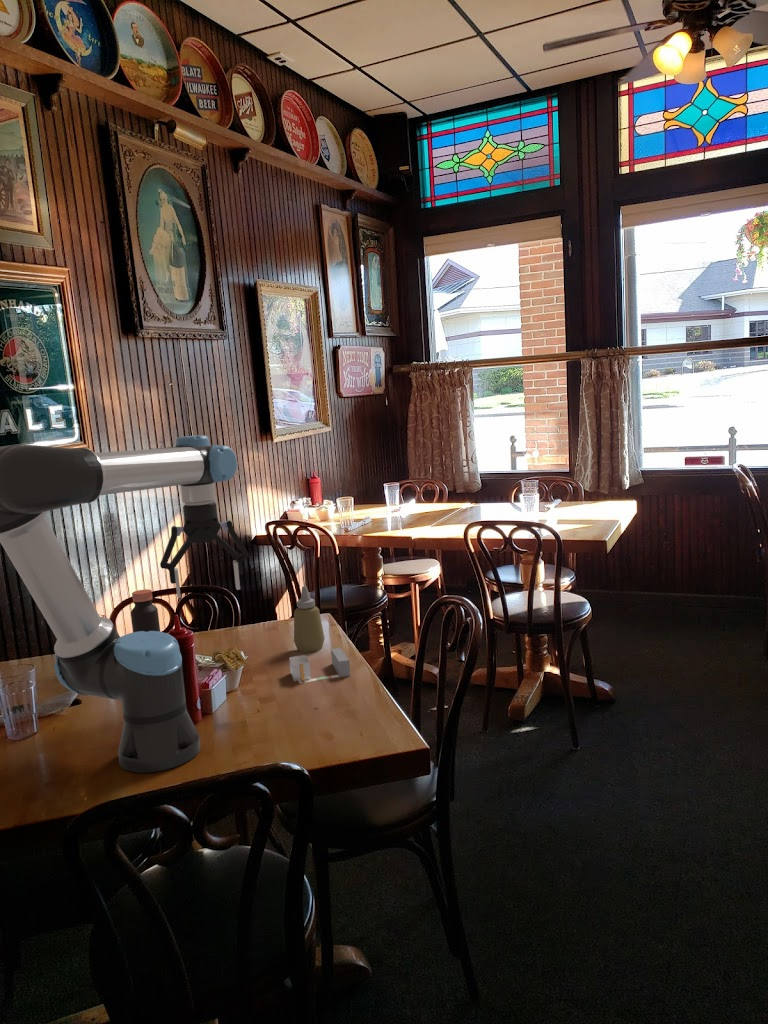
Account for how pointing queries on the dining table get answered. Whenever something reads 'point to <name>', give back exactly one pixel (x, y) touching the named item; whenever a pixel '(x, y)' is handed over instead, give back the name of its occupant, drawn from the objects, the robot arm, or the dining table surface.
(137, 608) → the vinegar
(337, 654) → the rail
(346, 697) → the dining table surface
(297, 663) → the gauge carriage
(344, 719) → the dining table surface
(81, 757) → the dining table surface
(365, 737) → the dining table surface
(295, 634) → the squeeze bottle
